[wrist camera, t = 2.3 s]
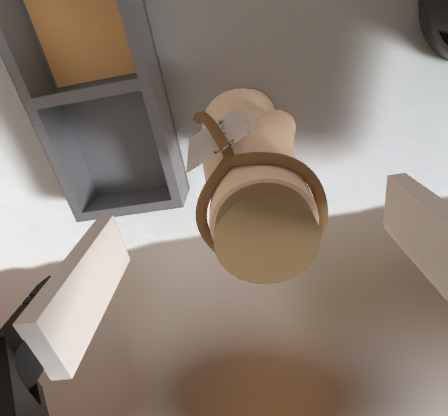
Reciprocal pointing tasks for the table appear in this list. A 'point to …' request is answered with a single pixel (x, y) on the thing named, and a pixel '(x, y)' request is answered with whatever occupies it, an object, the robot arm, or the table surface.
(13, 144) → the table surface
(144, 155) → the bottle caddy
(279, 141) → the water bottle
